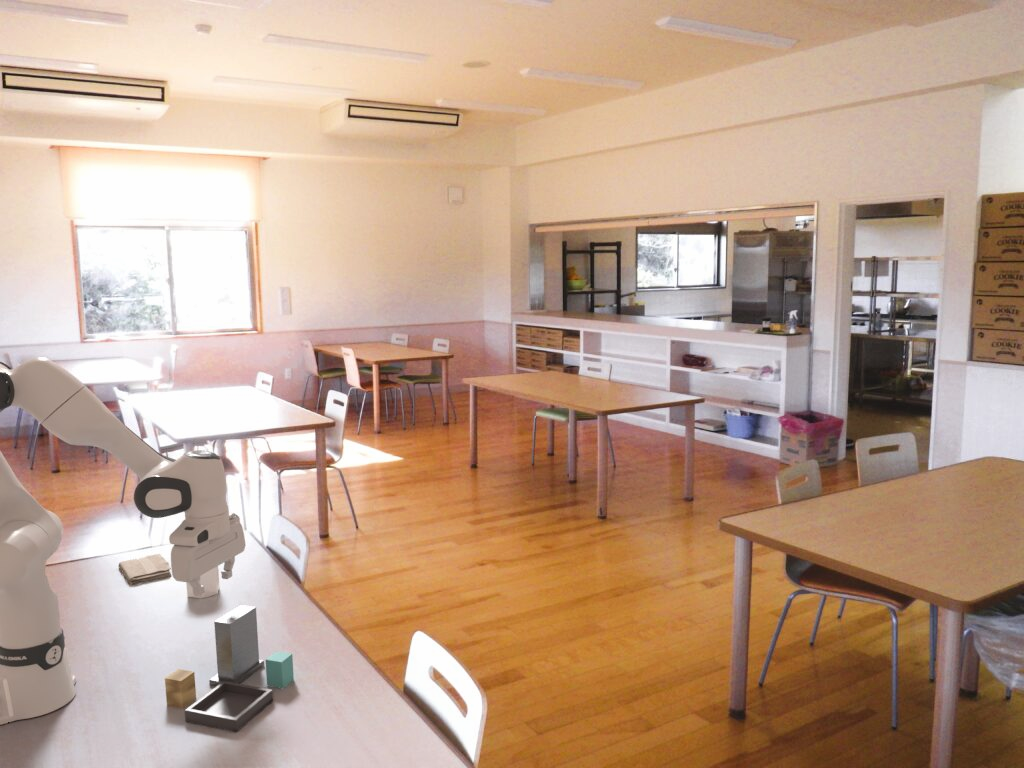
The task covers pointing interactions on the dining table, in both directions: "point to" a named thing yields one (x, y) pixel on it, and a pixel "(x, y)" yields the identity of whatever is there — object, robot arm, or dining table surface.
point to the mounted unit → (236, 646)
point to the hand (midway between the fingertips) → (213, 586)
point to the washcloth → (145, 569)
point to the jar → (206, 584)
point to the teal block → (279, 669)
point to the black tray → (229, 706)
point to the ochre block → (180, 688)
